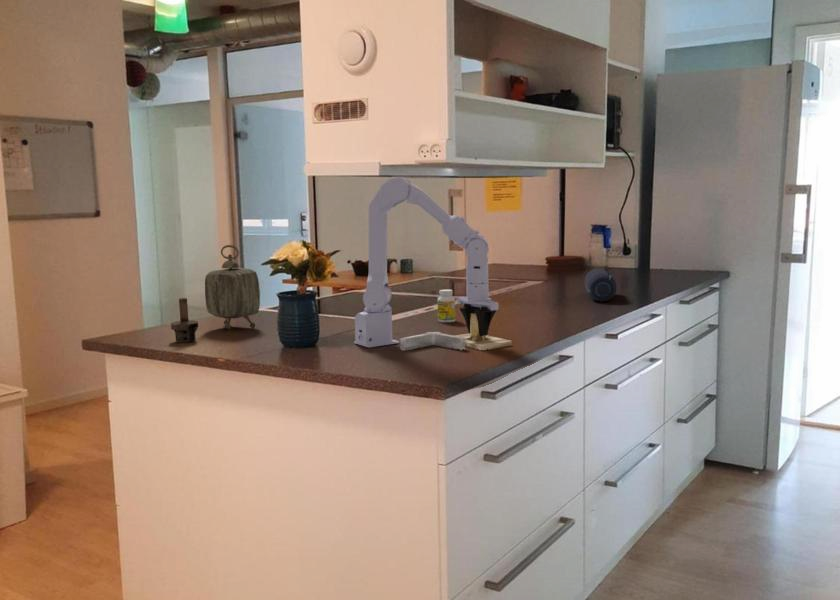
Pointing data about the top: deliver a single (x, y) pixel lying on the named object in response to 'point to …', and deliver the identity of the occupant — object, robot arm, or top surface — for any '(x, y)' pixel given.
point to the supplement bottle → (446, 306)
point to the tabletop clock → (232, 291)
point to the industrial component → (184, 324)
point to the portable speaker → (600, 285)
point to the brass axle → (475, 329)
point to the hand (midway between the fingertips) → (477, 334)
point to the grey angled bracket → (432, 341)
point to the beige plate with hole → (486, 342)
